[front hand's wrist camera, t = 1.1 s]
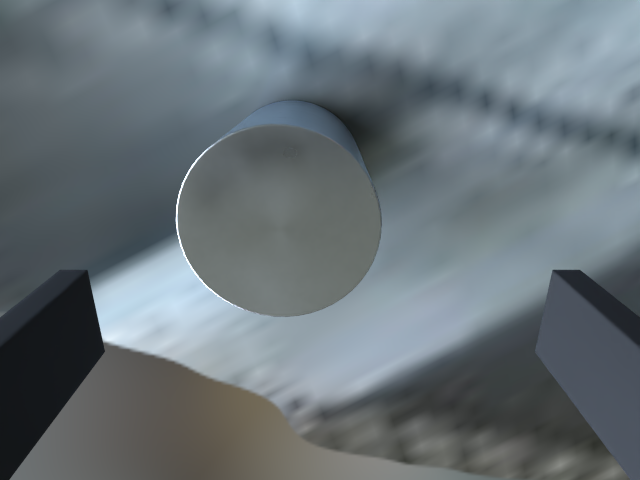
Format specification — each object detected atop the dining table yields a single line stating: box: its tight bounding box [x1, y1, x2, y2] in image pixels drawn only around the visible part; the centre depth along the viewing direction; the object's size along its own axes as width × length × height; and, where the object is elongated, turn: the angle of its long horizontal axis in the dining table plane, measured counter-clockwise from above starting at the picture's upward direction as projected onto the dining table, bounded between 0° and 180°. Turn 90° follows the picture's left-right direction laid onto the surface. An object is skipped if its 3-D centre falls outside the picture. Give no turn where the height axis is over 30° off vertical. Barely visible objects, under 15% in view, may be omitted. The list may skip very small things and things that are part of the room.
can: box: [176, 100, 382, 317], centre depth 25 cm, size 9×9×11 cm
